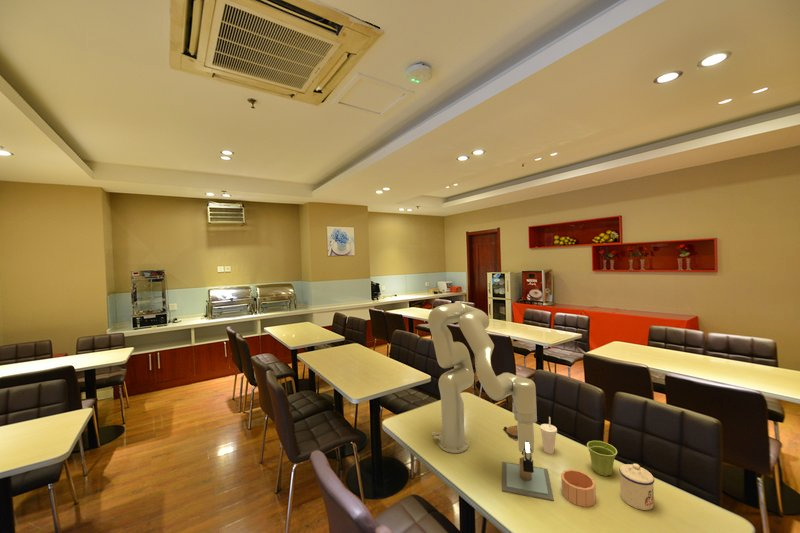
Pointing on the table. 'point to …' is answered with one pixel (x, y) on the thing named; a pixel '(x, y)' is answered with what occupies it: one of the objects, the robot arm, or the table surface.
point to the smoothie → (548, 437)
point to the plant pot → (602, 457)
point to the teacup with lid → (637, 486)
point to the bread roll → (512, 432)
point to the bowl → (578, 488)
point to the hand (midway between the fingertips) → (527, 463)
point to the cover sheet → (525, 485)
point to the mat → (524, 493)
